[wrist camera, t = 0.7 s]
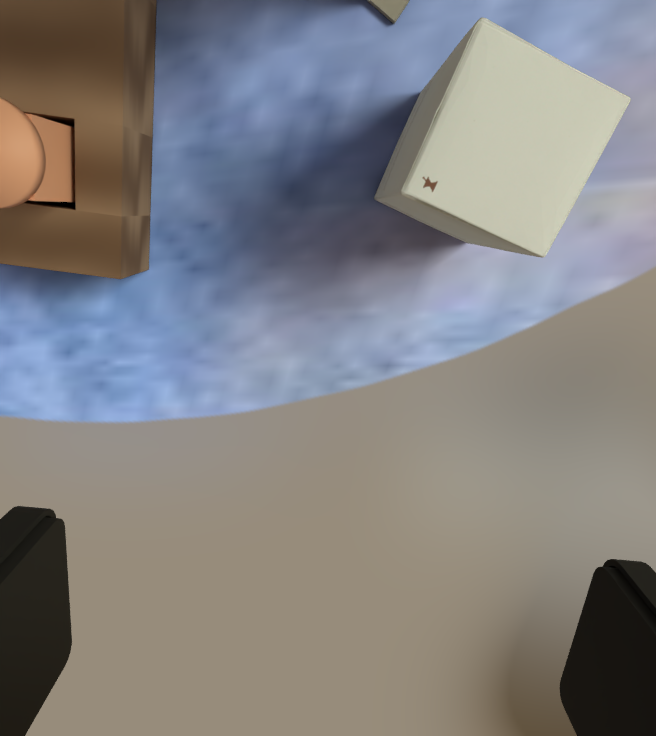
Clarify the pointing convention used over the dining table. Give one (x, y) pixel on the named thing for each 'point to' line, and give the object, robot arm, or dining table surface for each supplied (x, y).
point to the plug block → (84, 130)
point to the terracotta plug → (34, 158)
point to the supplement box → (500, 143)
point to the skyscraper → (390, 8)
